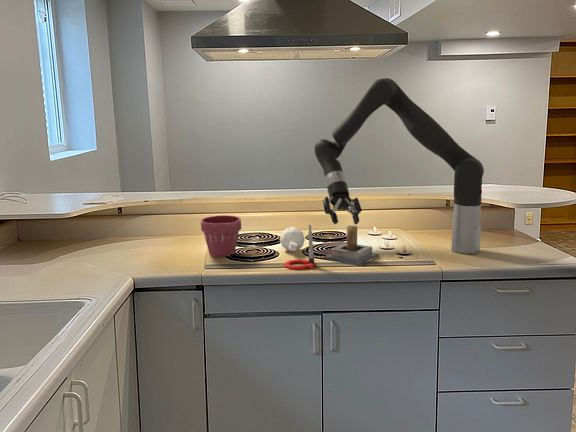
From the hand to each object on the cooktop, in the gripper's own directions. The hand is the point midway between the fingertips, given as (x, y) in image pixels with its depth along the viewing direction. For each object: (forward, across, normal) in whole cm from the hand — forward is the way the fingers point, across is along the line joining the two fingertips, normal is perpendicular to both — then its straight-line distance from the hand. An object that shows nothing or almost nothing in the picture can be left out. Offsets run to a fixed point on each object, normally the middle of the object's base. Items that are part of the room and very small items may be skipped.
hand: (346, 223), depth 206 cm
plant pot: (+3, -43, +18) cm, 46 cm away
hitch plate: (+15, -3, -2) cm, 15 cm away
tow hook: (+18, -23, -2) cm, 29 cm away
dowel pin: (+15, -3, -2) cm, 15 cm away
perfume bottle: (+6, -19, +11) cm, 23 cm away
